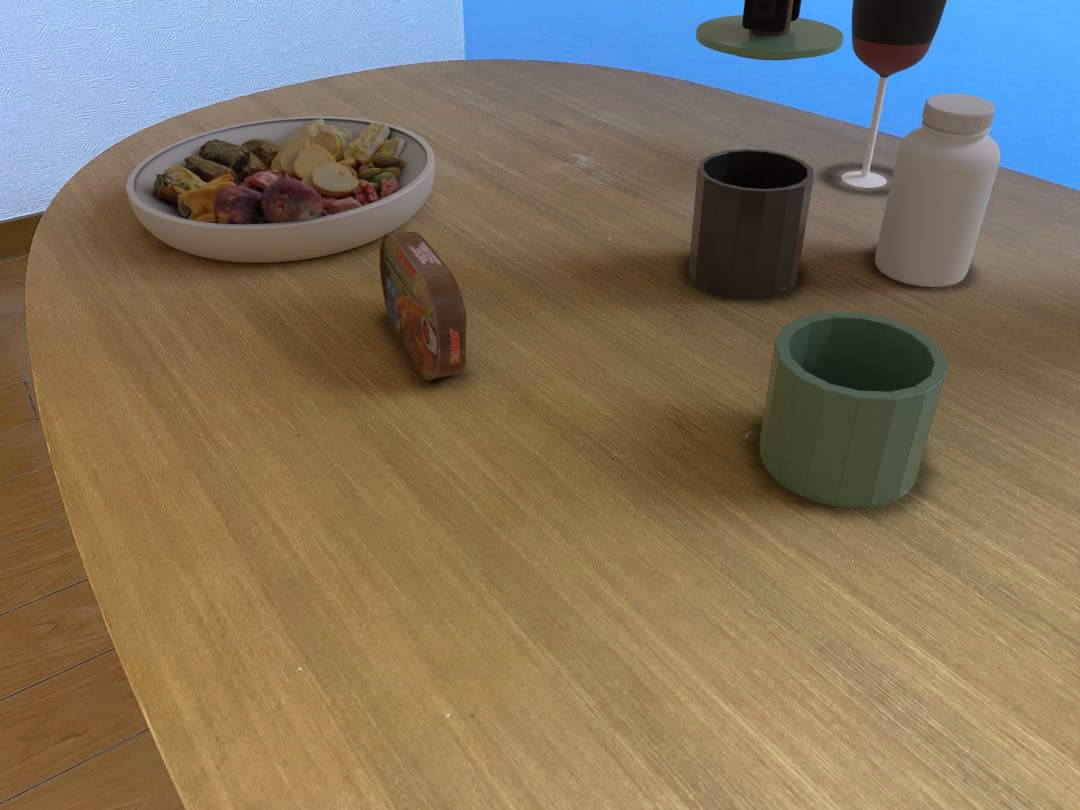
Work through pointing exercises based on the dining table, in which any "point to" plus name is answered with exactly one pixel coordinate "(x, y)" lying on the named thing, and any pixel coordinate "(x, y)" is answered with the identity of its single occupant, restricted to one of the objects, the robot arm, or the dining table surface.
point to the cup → (749, 222)
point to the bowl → (282, 188)
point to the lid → (770, 38)
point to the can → (850, 407)
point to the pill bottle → (939, 193)
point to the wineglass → (889, 54)
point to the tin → (423, 304)
